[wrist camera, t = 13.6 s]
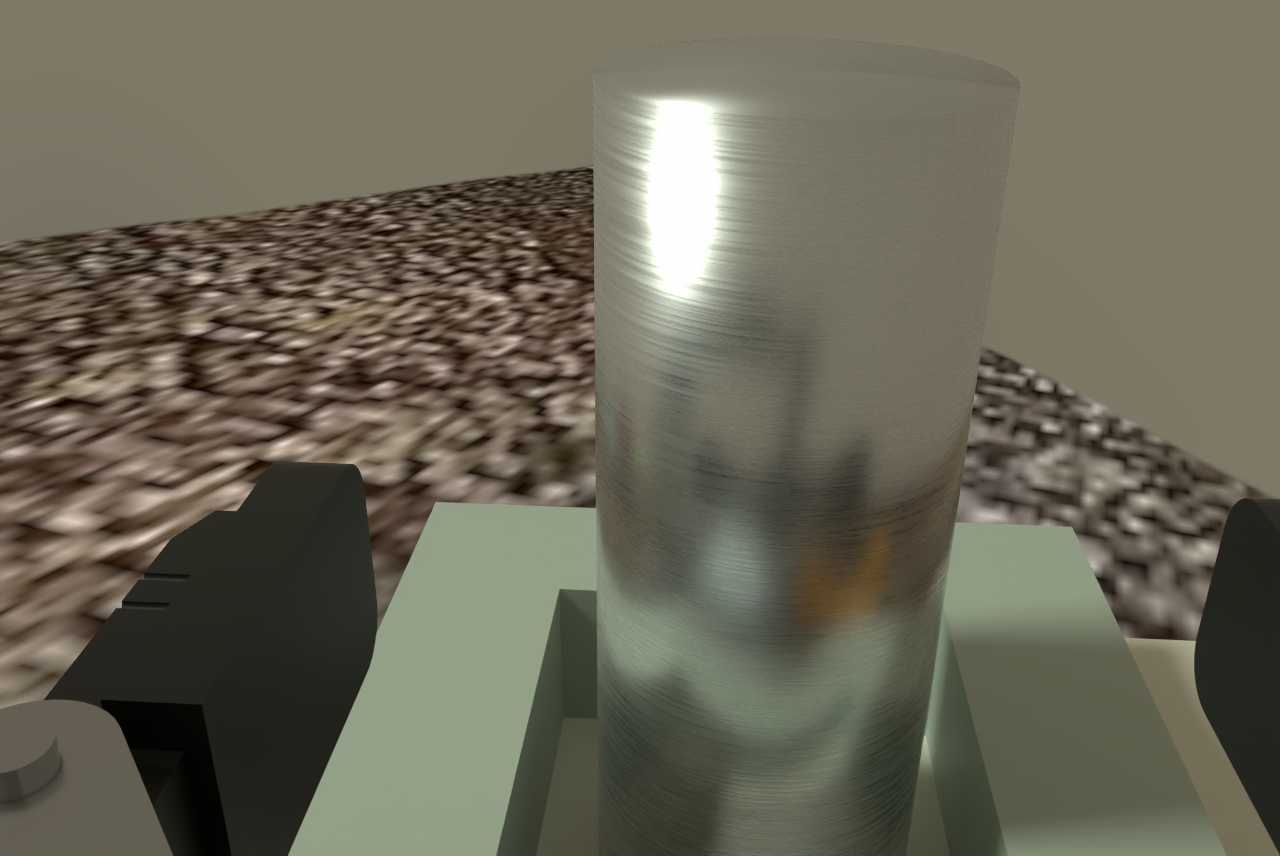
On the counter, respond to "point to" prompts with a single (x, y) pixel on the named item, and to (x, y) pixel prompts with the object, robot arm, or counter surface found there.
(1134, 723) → the pale green square frame
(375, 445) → the counter surface
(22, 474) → the counter surface
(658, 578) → the steel shaft
